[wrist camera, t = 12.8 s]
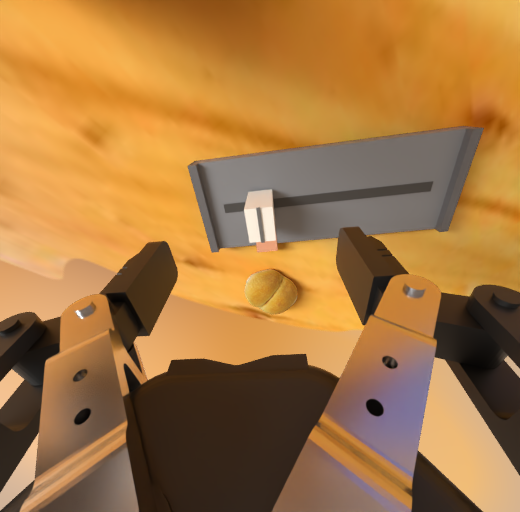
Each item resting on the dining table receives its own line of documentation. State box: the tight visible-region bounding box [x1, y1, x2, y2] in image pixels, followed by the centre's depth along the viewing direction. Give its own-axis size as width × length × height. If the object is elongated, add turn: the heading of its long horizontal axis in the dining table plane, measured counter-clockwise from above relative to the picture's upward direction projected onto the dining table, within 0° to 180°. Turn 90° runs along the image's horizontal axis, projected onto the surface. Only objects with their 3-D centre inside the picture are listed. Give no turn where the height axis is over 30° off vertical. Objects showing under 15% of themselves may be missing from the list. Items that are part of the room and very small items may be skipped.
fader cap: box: [244, 189, 276, 243], centre depth 27 cm, size 3×4×6 cm
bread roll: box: [245, 269, 297, 314], centre depth 39 cm, size 8×9×4 cm
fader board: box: [188, 126, 484, 252], centre depth 30 cm, size 32×13×3 cm, turn 97°
